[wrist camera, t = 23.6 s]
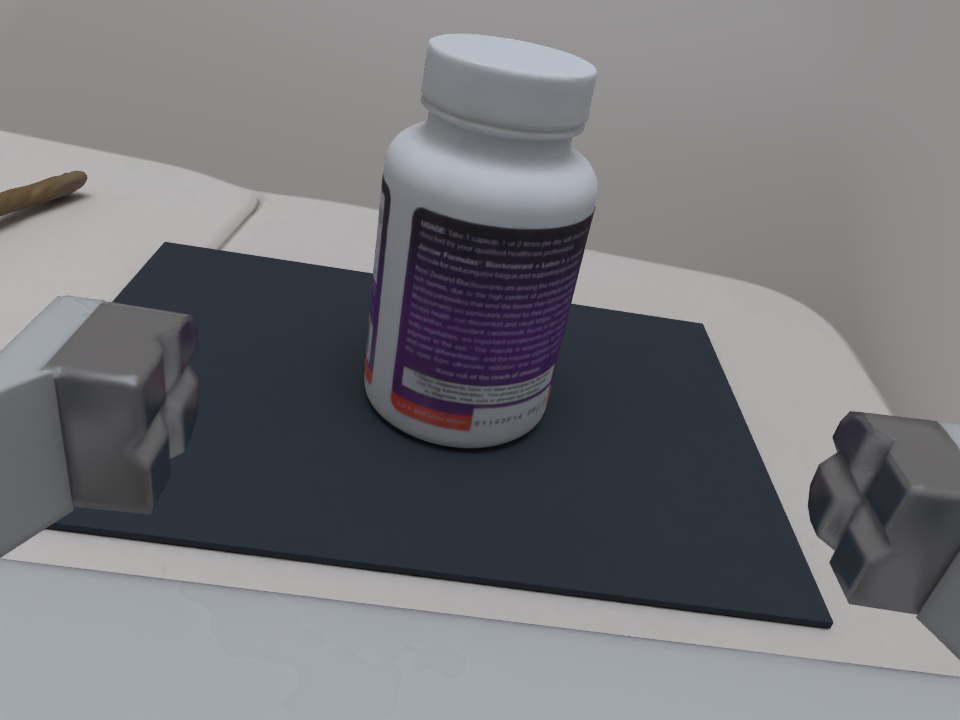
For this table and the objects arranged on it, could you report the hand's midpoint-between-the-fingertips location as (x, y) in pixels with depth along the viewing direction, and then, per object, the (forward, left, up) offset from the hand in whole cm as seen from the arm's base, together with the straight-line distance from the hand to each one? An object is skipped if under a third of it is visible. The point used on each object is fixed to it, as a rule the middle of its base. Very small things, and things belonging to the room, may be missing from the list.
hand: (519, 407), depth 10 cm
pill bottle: (0, -11, -8) cm, 14 cm away
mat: (+1, -11, -8) cm, 14 cm away
